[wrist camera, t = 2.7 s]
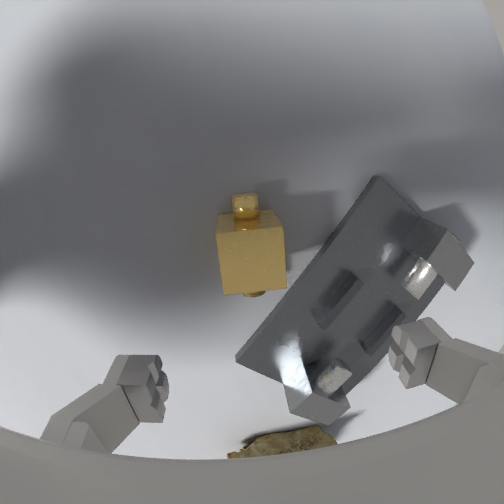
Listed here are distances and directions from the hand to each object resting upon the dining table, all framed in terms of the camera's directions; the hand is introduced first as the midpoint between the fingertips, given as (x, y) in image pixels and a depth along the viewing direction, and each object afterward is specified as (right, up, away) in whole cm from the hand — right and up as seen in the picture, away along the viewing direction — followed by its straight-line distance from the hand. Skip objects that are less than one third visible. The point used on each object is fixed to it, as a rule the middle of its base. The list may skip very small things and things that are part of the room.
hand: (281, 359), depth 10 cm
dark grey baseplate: (+9, -1, +17) cm, 19 cm away
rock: (+3, -21, +23) cm, 32 cm away
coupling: (-1, +5, +14) cm, 15 cm away
